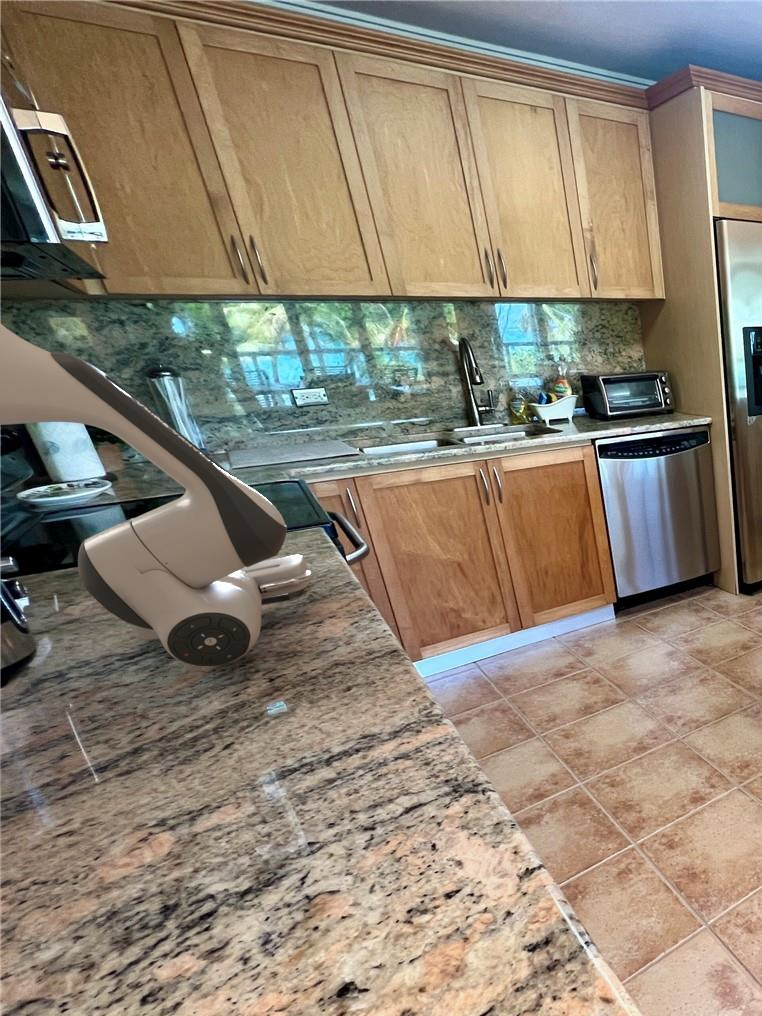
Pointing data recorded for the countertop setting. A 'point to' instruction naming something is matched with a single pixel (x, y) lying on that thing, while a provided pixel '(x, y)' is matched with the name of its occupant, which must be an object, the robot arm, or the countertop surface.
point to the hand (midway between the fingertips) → (222, 572)
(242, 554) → the robot arm
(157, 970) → the countertop surface
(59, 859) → the countertop surface
